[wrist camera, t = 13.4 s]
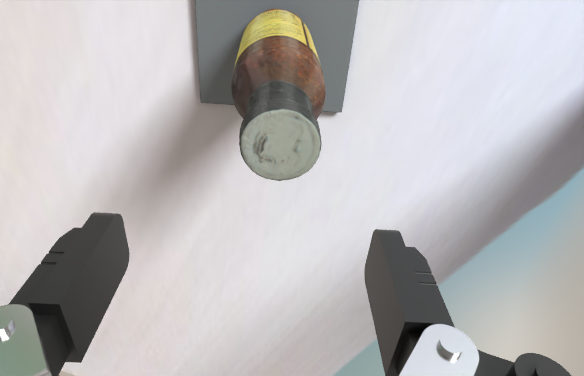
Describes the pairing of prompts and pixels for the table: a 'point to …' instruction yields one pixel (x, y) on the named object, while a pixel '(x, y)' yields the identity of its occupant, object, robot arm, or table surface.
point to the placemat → (235, 18)
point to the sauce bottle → (278, 96)
